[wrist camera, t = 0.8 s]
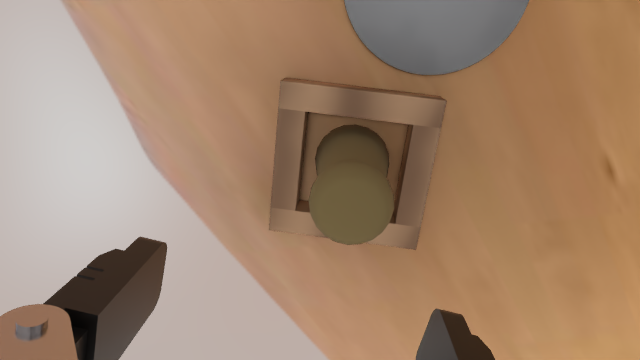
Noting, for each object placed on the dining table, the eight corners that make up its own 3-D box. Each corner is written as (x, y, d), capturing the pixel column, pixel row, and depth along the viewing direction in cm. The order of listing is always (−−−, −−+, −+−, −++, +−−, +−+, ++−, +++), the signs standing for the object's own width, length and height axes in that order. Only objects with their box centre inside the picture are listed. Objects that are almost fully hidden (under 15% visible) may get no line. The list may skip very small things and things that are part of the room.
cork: (384, 198, 36) (397, 265, 25) (313, 192, 36) (296, 255, 26) (393, 127, 34) (411, 167, 23) (317, 121, 34) (301, 158, 24)
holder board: (440, 96, 33) (446, 100, 30) (412, 236, 37) (416, 249, 34) (285, 77, 33) (280, 80, 31) (274, 218, 37) (268, 230, 35)
